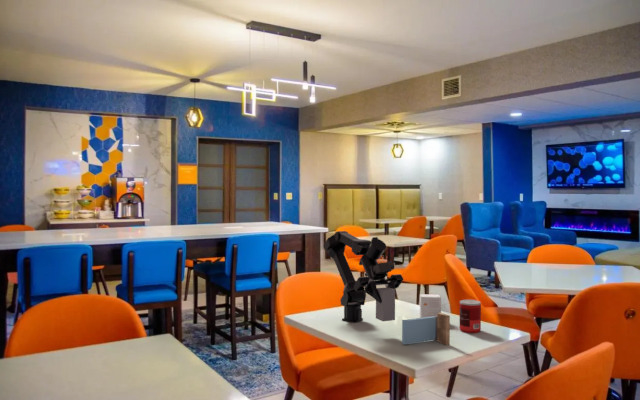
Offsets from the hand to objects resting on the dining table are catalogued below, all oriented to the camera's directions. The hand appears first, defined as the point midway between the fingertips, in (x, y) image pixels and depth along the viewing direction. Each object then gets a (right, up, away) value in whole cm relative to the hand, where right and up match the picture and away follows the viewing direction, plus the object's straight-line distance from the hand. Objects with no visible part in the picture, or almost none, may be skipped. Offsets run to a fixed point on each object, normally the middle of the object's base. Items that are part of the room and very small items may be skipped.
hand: (387, 301), depth 179 cm
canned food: (+33, -13, +8) cm, 36 cm away
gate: (+11, -13, -7) cm, 18 cm away
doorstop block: (-1, -7, +1) cm, 7 cm away
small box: (+21, -13, +23) cm, 33 cm away
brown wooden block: (+18, -13, -8) cm, 24 cm away
